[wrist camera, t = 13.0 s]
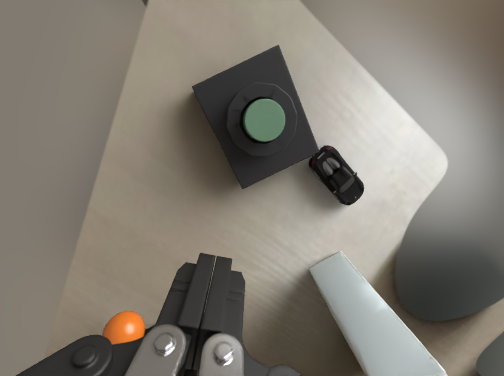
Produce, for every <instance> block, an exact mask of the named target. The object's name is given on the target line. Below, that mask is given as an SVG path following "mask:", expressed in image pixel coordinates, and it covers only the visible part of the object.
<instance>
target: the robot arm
mask: <svg viewBox="0 0 504 376" xmlns="http://www.w3.org/2000/svg"><path fill="white" fill-rule="evenodd" d="M215 257H216V256H214V255H209V254H204V253H200V255H199V258H198V261H197V264H192V263H187V262H186V263H185V264H184V265H183V266H182V267H180V268H179V269H178V271H177V273H176V276H175V278H174V281H173V283H172V286H171V288H170V290H169V293H168V295H167V298H166V300H165V303H164V305H163V308H162V310H161V312H160V315H159V317H158V320H157V322H156V324H155V326H154V327H153V328H152V330H151V331H150V332H148V333H147V334H146V335H144V336H143V337H141V338H139V339H137V340H134V341H130V342H124V343H118V344H111V342H110V340H109V339H108V338H106V337H104V336H101V335H89V336H85V337H83V338H80V339H78V340H76V341H75V342H73V343H71V344H69V345H68V346H66V347H64V348H62V349H61V350H59V351H57V352H56V353H54V354H52V355H50V356H49V357H47V358H45V359H44V360H42V361H40V362H38V363H37V364H35V365H33V366H31V367H30V368H28V369H26V370H25V371H23V372H21V373H20V374H18V375H16V376H184V371H185V369H191V366H192V362H193V358H194V353H195V349H196V344H197V340H198V336H199V340H198V345H197V350H196V355H195V360H194V365H193V370H198V372H197V376H300V375H299V373H298V372H297V371H296V370H294V369H293V368H291V367H289V366H287V365H276V366H273V367H272V368H269V367H267V366H265V365H263V364H261V363H260V362H258V361H256V360H255V359H253V358H252V357H251V356H250V355H249V354H248V352H247V351H246V349H245V347H244V345H243V341H242V328H243V311H244V292H245V280H244V278H243V275H242V273H241V272H237V271H231V264H232V259H231V258H226V257H220V256H217V258H216V263H215V267H214V262H215ZM213 267H214V271H213ZM212 272H213V276H212ZM211 277H212V280H211ZM210 282H211V285H210ZM209 287H210V289H209ZM208 291H209V294H208ZM207 296H208V298H207ZM206 300H207V303H206ZM205 305H206V307H205ZM204 309H205V312H204ZM203 314H204V316H203ZM202 318H203V321H202ZM201 322H202V325H201ZM200 327H201V330H200ZM199 331H200V335H199Z"/></svg>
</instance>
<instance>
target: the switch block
mask: <svg viewBox="0 0 504 376" xmlns="http://www.w3.org/2000/svg"><path fill="white" fill-rule="evenodd" d="M192 88H193V90H194V92H195V94H196V96H197V98H198V100H199V102H200V104H201V107H202V109H203V111H204V113H205V115H206V117H207V119H208V121H209V123H210V125H211V127H212V129H213V131H214V133H215V135H216V137H217V139H218V141H219V143H220V145H221V147H222V149H223V151H224V153H225V155H226V157H227V159H228V161H229V163H230V165H231V167H232V169H233V171H234V173H235V175H236V177H237V179H238V181H239V183H240V185H241V187H242V189H244V188H246V187H248V186H250V185H252V184H254V183H257V182H259V181H261V180H263V179H265V178H267V177H269V176H271V175H273V174H275V173H277V172H279V171H281V170H283V169H285V168H287V167H289V166H291V165H293V164H295V163H298V162H300V161H302V160H304V159H306V158H308V157H310V156H312V155H314V154H316V153H318V152H319V149H318V147H317V144H316V141H315V139H314V136H313V133H312V131H311V128H310V126H309V123H308V120H307V118H306V115H305V112H304V110H303V107H302V105H301V102H300V99H299V97H298V94H297V91H296V89H295V86H294V83H293V81H292V78H291V76H290V73H289V70H288V68H287V65H286V62H285V60H284V57H283V55H282V52H281V49H280V47H279V45H277V46H275V47H273V48H271V49H269V50H267V51H265V52H263V53H261V54H258V55H256V56H254V57H252V58H250V59H248V60H246V61H244V62H242V63H240V64H238V65H236V66H234V67H232V68H229V69H227V70H225V71H223V72H221V73H219V74H217V75H215V76H213V77H211V78H209V79H207V80H205V81H203V82H200V83H198V84H196V85H194V86H192ZM260 99H270V100H273V101H275V102H277V103H278V104H279V105H280V106H281V108H282V109H283V111H284V114H285V126H284V129H283V131H282V132H281V134H280V135H279V136H278V137H277V138H275V139H273V140H271V141H266V142H263V141H258V140H255V139H253V138H252V137H250V136H249V135H248V134H247V132H246V131H245V129H244V126H243V116H244V113H245V111H246V109H247V108H248V107H249V106H250V105H251V104H252V103H254V102H255V101H257V100H260Z"/></svg>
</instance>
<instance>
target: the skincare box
mask: <svg viewBox="0 0 504 376" xmlns="http://www.w3.org/2000/svg"><path fill="white" fill-rule="evenodd" d="M309 271H310V273H311V275H312V277H313V279H314V281H315V282H316V284H317V286H318V288H319V290H320V292H321V294H322V296H323V298H324V300H325V302H326V304H327V306H328V308H329V309H330V311H331V313H332V315H333V317H334V319H335V321H336V322H337V324H338V326H339V328H340V330H341V332H342V333H343V335H344V337H345V339H346V341H347V342H348V344H349V346H350V348H351V350H352V351H353V353H354V355H355V357H356V359H357V361H358V362H359V364H360V366H361V368H362V369H363V371H364V373H365V375H366V376H447V374H446V372H445V370H444V369H443V368H442V367H441V366H440V364H439V363H438V362H437V361H436V360H435V359H434V358H433V356H432V355H431V354H430V353H429V352H428V351H427V349H426V348H425V347H424V346H423V345H422V344H421V342H420V341H419V340H418V339H417V338H416V337H415V336H414V334H413V333H412V332H411V331H410V330H409V329H408V328H407V326H406V325H405V324H404V323H403V322H402V321H401V319H400V318H399V317H398V316H397V315H396V314H395V313H394V311H393V310H392V309H391V308H390V307H389V306H388V305H387V304H386V303H385V301H384V300H383V299H382V298H381V297H380V296H379V294H378V293H377V292H376V291H375V290H374V289H373V288H372V286H371V285H370V284H369V283H368V282H367V281H366V280H365V278H364V277H363V276H362V275H361V274H360V272H359V271H358V270H357V269H356V268H355V267H354V265H353V264H352V263H351V262H350V261H349V259H348V258H347V257H346V256H345V255H344V254H343V252H342V251H340V252H338V253H336V254H334V255H332V256H331V257H329V258H327V259H325V260H323V261H321V262H320V263H318V264H316V265H315V266H313V267H311V268H310V269H309Z"/></svg>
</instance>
